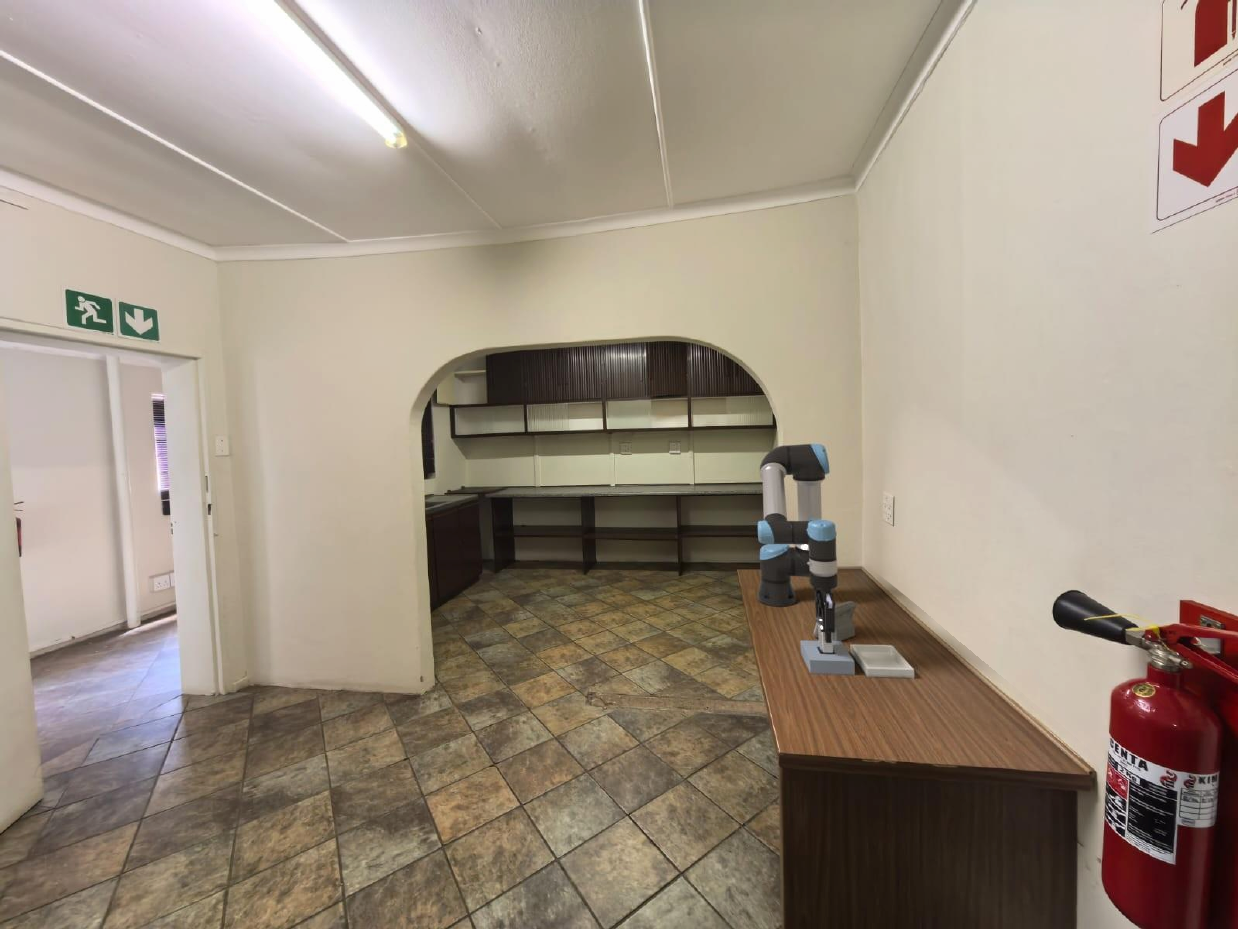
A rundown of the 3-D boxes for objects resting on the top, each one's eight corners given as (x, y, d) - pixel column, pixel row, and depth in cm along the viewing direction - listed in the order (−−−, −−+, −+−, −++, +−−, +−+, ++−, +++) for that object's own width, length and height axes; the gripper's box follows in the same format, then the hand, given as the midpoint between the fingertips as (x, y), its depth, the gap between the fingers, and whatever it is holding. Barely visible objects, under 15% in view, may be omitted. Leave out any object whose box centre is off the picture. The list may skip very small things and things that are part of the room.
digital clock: (846, 625, 156) (845, 596, 155) (866, 636, 147) (865, 606, 146) (806, 633, 152) (805, 603, 151) (824, 645, 143) (823, 613, 143)
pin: (828, 658, 135) (827, 614, 134) (836, 666, 130) (835, 620, 130) (815, 660, 135) (813, 615, 134) (822, 667, 130) (820, 621, 129)
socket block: (800, 652, 140) (800, 640, 139) (841, 653, 137) (840, 641, 137) (810, 673, 128) (809, 660, 127) (854, 674, 126) (854, 661, 125)
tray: (850, 652, 138) (850, 644, 138) (892, 653, 136) (892, 645, 135) (867, 677, 124) (867, 668, 124) (914, 678, 122) (914, 669, 122)
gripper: (803, 564, 139) (805, 636, 141) (817, 582, 123) (820, 662, 125) (828, 564, 138) (830, 636, 140) (845, 581, 122) (848, 663, 124)
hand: (825, 648), depth 132 cm, fingers closed on pin, 3 cm apart
